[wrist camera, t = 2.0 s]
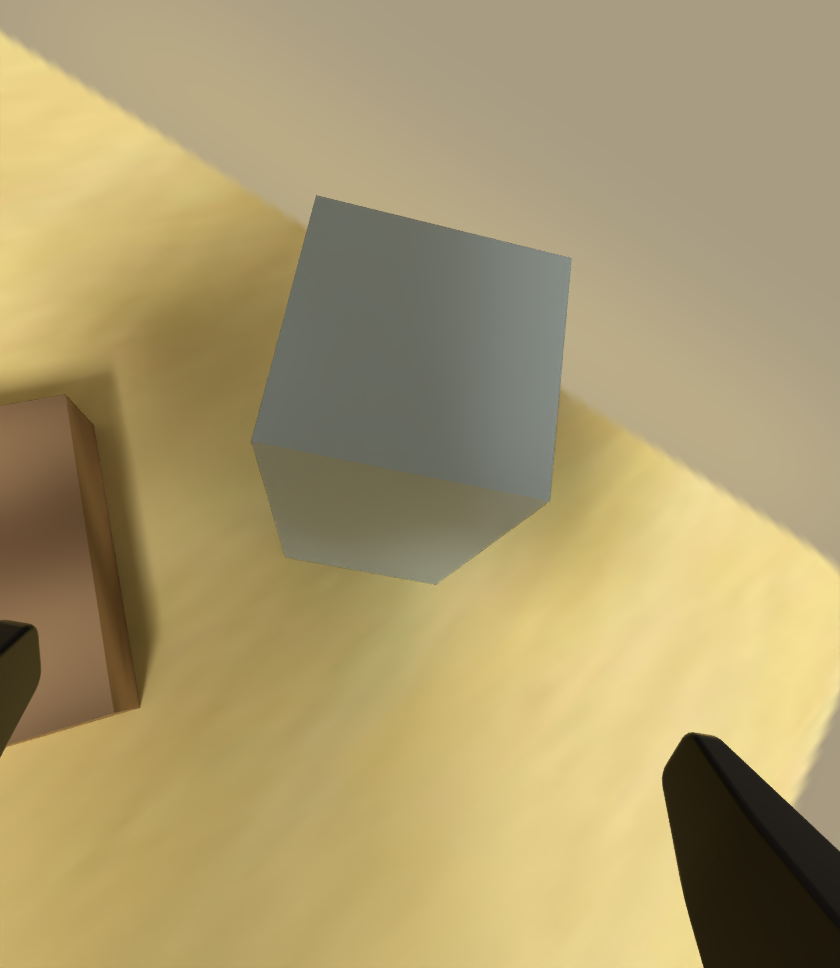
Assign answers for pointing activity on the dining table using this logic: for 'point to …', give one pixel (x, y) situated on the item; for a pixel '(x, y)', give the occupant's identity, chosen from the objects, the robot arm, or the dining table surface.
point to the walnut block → (61, 567)
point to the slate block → (410, 393)
